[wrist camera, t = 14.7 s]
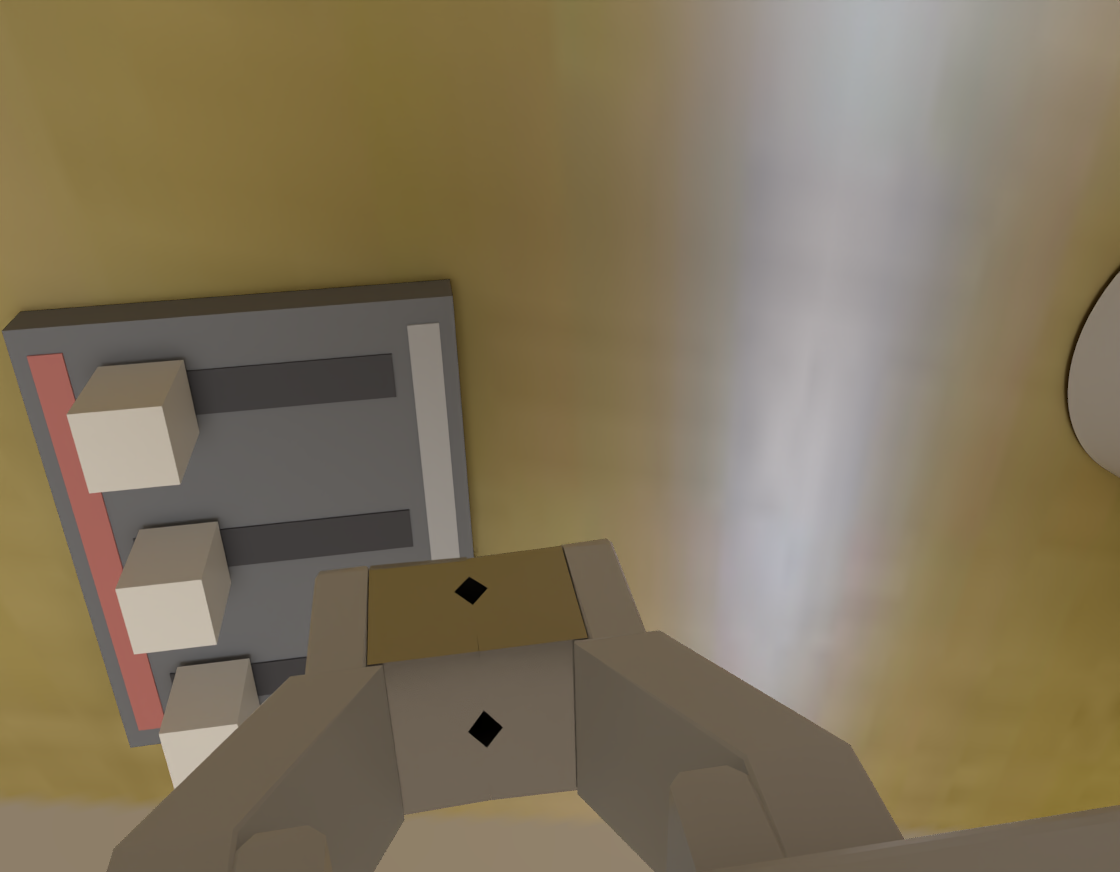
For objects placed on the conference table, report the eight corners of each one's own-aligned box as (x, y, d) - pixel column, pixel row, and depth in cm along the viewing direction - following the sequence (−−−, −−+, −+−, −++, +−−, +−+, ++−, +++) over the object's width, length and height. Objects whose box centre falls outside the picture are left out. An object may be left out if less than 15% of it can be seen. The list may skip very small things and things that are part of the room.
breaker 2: (249, 658, 42) (237, 724, 39) (261, 710, 44) (250, 778, 40) (177, 666, 42) (158, 734, 38) (191, 719, 43) (174, 789, 40)
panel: (449, 279, 39) (452, 296, 37) (481, 672, 48) (485, 702, 46) (20, 311, 37) (0, 331, 35) (140, 716, 46) (129, 749, 44)
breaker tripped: (217, 521, 39) (201, 579, 36) (231, 582, 41) (216, 644, 37) (139, 529, 39) (115, 589, 35) (155, 591, 40) (133, 654, 37)
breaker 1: (183, 359, 36) (161, 406, 32) (199, 432, 37) (180, 484, 34) (97, 366, 36) (66, 414, 32) (117, 439, 37) (89, 493, 33)
